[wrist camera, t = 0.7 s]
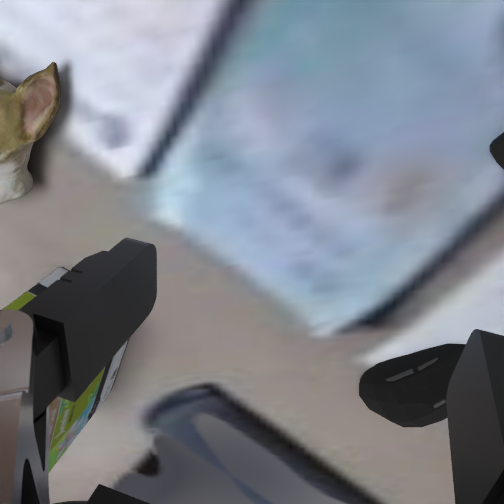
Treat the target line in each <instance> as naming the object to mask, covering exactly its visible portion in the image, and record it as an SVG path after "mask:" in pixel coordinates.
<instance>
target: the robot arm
mask: <svg viewBox="0 0 504 504" xmlns="http://www.w3.org/2000/svg"><path fill="white" fill-rule="evenodd" d="M156 295H157V253H156V248H155V246H154V245H153V244H150V243H146V242H142V241H138V240H134V239H130V238H125V239H123V240H122V241H121V242H119V243H118V244H117V245H116V246H114V247H113V248H112V249H111V250H110V251H108V252H107V251H101V252H99V253H96V254H94V255H91V256H89V257H86V258H84V259H83V260H82V261H81V262H79V263H78V264H77V265H75V266H74V267H73V268H72V269H71V271H68V272H66V273H65V274H64V275H63V276H61V277H60V280H56V281H55V282H54V283H52V284H51V285H50V286H49V287H47V288H46V289H45V290H43V291H42V292H41V293H40V294H38V295H37V296H36V297H34V298H33V299H32V300H31V301H29V302H28V303H27V304H26V305H24V306H23V307H22V308H20V309H19V310H10V309H4V310H0V504H50V500H49V486H48V474H49V424H50V412H49V405H50V404H51V403H52V402H53V400H54V399H55V398H56V397H57V396H58V397H61V398H63V399H66V400H69V401H72V402H76V401H77V400H78V398H79V397H80V396H81V395H82V394H83V392H84V391H85V390H86V389H87V388H88V386H89V385H90V384H91V383H92V382H93V381H94V379H95V378H96V377H97V376H98V375H99V373H100V372H101V371H102V370H103V369H104V367H105V366H106V365H107V364H108V363H109V361H110V360H111V359H112V358H113V357H114V356H115V354H116V353H117V352H118V351H119V350H120V348H121V347H122V346H123V345H124V344H125V342H126V341H127V340H128V339H129V338H130V337H131V335H132V334H133V333H134V332H135V331H136V329H137V328H138V327H139V326H140V325H141V323H142V322H143V321H144V320H145V319H146V318H147V316H148V315H149V314H150V312H151V310H152V308H153V306H154V303H155V300H156ZM446 404H447V416H448V427H449V438H450V449H451V460H452V471H453V482H454V493H455V504H504V336H502V335H498V334H494V333H490V332H486V331H482V330H479V329H475V330H474V331H473V332H472V333H471V335H470V337H469V339H468V341H467V343H466V346H465V348H464V350H463V352H462V354H461V356H460V359H459V361H458V363H457V365H456V367H455V369H454V371H453V374H452V376H451V378H450V381H449V385H448V390H447V398H446ZM55 504H149V503H147V502H144V501H142V500H139V499H136V498H134V497H131V496H129V495H126V494H124V493H121V492H118V491H116V490H113V489H111V488H108V487H106V486H103V485H101V484H99V485H98V486H97V488H96V489H95V491H94V492H93V494H92V496H91V497H90V499H89V500H88V501H67V502H61V503H55Z"/></svg>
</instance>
